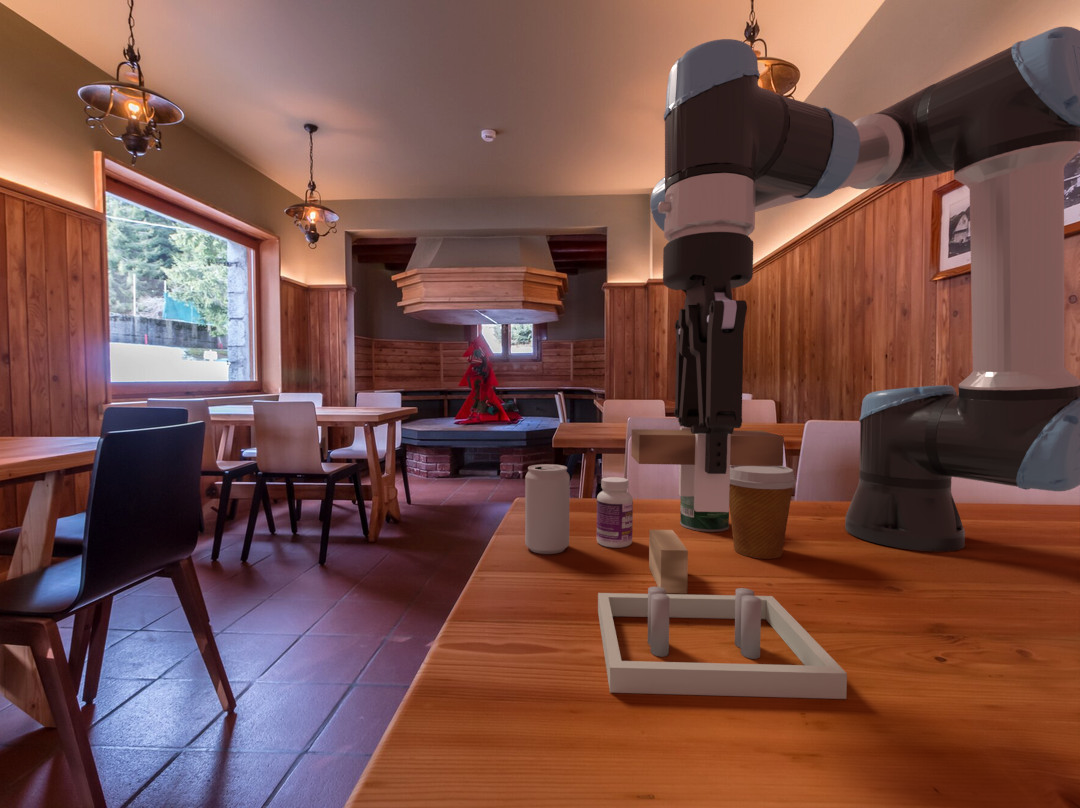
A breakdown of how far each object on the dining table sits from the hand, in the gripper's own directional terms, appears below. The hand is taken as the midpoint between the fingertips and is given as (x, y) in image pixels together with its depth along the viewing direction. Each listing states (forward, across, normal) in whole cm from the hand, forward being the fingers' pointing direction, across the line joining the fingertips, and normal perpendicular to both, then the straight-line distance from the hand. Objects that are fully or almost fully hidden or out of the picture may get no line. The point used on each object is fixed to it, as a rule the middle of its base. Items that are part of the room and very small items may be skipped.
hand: (702, 502), depth 46 cm
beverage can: (+14, -27, -15) cm, 34 cm away
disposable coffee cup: (+13, -27, +15) cm, 34 cm away
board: (-4, 0, 0) cm, 4 cm away
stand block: (+13, -16, 0) cm, 21 cm away
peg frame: (+13, 0, 0) cm, 13 cm away
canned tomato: (+13, -40, +11) cm, 44 cm away
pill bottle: (+14, -30, -5) cm, 33 cm away
